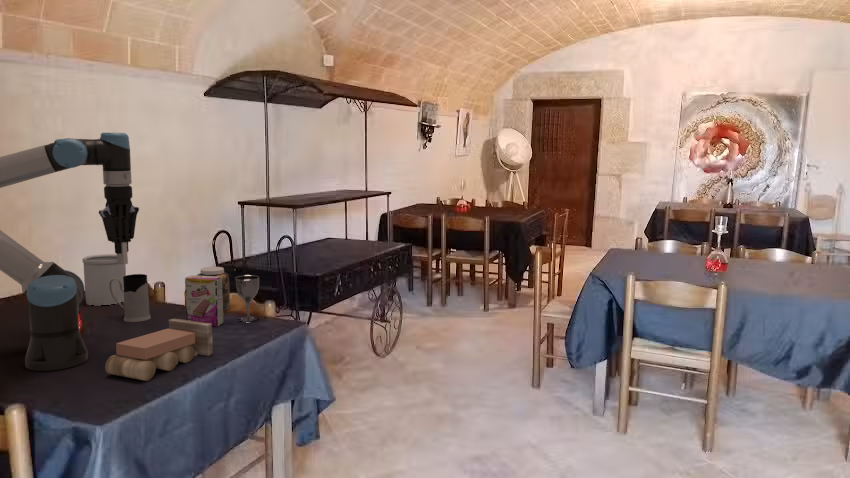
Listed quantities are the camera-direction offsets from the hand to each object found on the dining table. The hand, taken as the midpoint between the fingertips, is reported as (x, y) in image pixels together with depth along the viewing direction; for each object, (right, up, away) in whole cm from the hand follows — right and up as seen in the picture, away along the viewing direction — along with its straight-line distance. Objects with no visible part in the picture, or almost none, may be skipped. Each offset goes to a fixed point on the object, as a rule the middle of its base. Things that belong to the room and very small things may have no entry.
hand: (122, 263), depth 192 cm
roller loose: (+20, -27, -10) cm, 35 cm away
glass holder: (-12, -20, +30) cm, 38 cm away
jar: (+13, -19, +44) cm, 50 cm away
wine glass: (+30, -21, +30) cm, 47 cm away
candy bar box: (+17, -22, +24) cm, 36 cm away
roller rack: (+18, -27, -16) cm, 36 cm away
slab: (+18, -23, -18) cm, 34 cm away
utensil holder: (-31, -17, +52) cm, 63 cm away
